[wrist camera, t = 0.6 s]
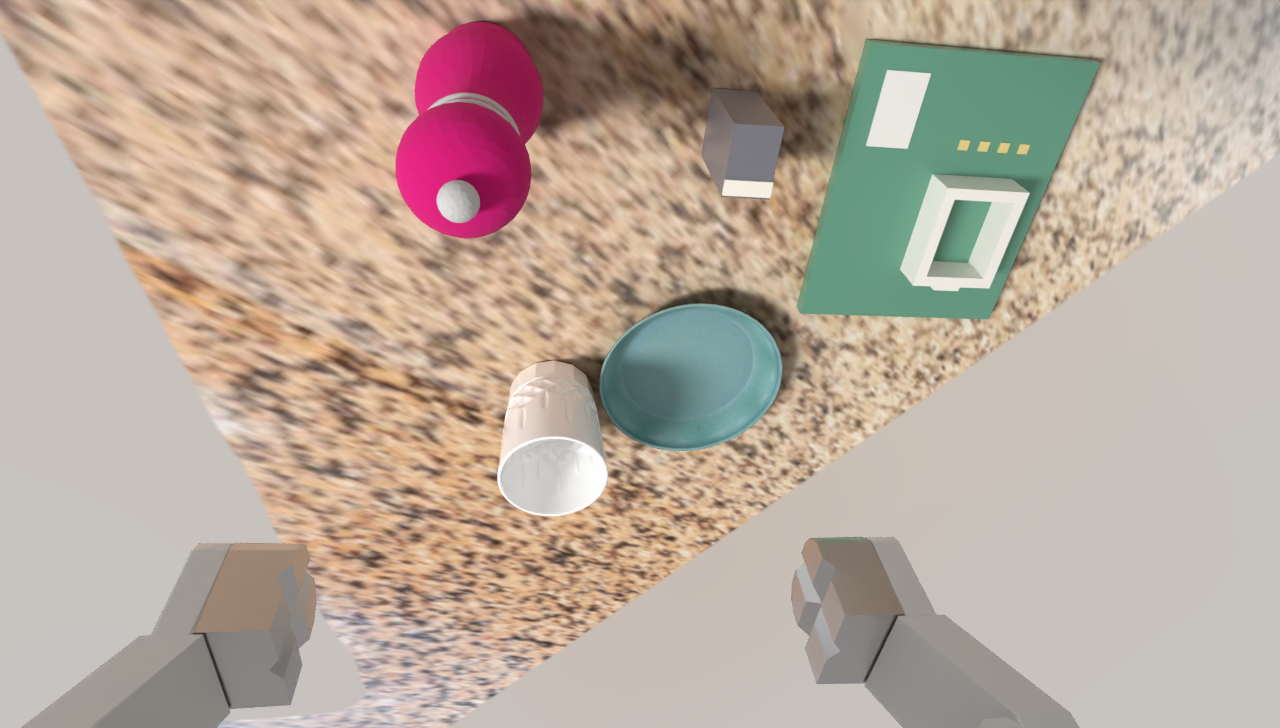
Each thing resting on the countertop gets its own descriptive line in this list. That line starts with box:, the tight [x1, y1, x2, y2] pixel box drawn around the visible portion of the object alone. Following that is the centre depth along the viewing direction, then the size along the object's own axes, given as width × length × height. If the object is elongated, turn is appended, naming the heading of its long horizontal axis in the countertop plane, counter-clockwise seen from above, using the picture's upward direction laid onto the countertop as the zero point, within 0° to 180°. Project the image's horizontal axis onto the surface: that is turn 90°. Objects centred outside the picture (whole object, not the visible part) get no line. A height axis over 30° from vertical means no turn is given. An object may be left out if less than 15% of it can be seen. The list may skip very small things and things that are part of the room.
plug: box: [702, 88, 784, 199], centre depth 48 cm, size 4×3×7 cm, turn 174°
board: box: [797, 39, 1100, 319], centre depth 54 cm, size 20×16×4 cm
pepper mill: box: [396, 22, 543, 238], centre depth 39 cm, size 7×7×20 cm
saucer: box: [599, 303, 782, 451], centre depth 61 cm, size 15×15×3 cm
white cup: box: [498, 360, 608, 516], centre depth 58 cm, size 8×8×10 cm
